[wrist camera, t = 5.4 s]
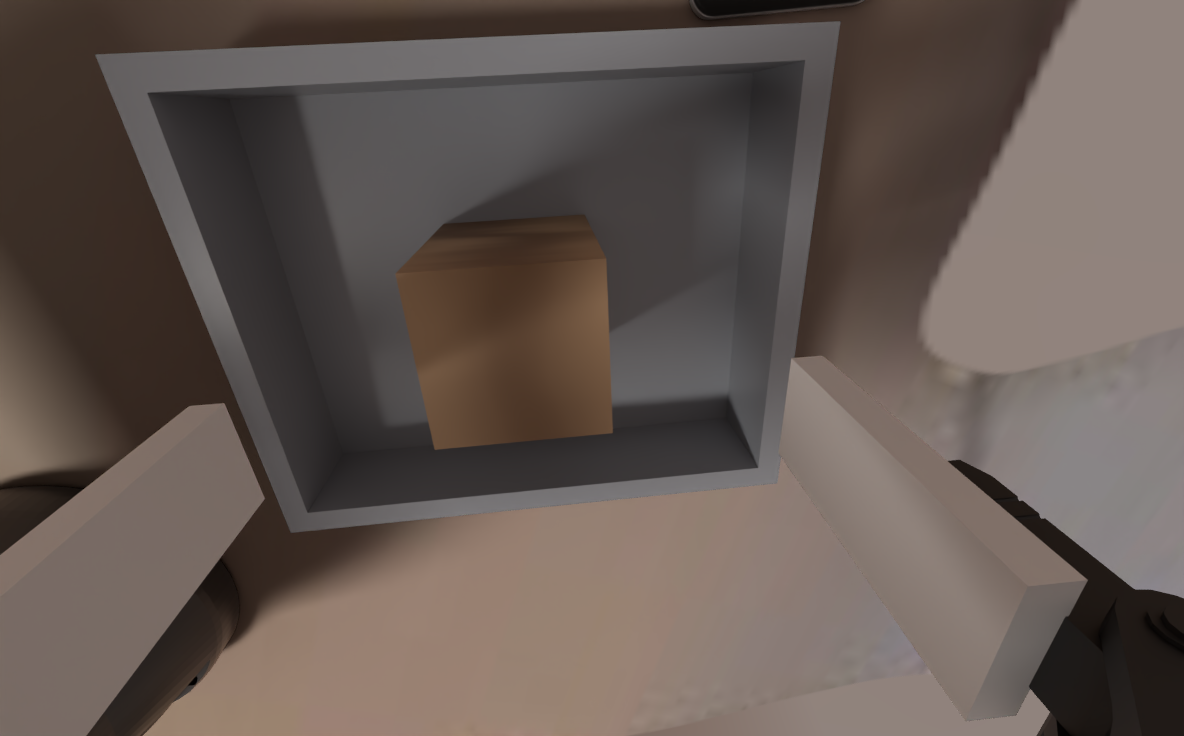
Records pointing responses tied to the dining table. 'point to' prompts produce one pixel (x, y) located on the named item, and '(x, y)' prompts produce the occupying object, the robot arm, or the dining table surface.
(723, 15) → the smartphone
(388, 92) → the grey bin
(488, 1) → the dining table surface
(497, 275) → the walnut block
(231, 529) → the robot arm
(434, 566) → the dining table surface
